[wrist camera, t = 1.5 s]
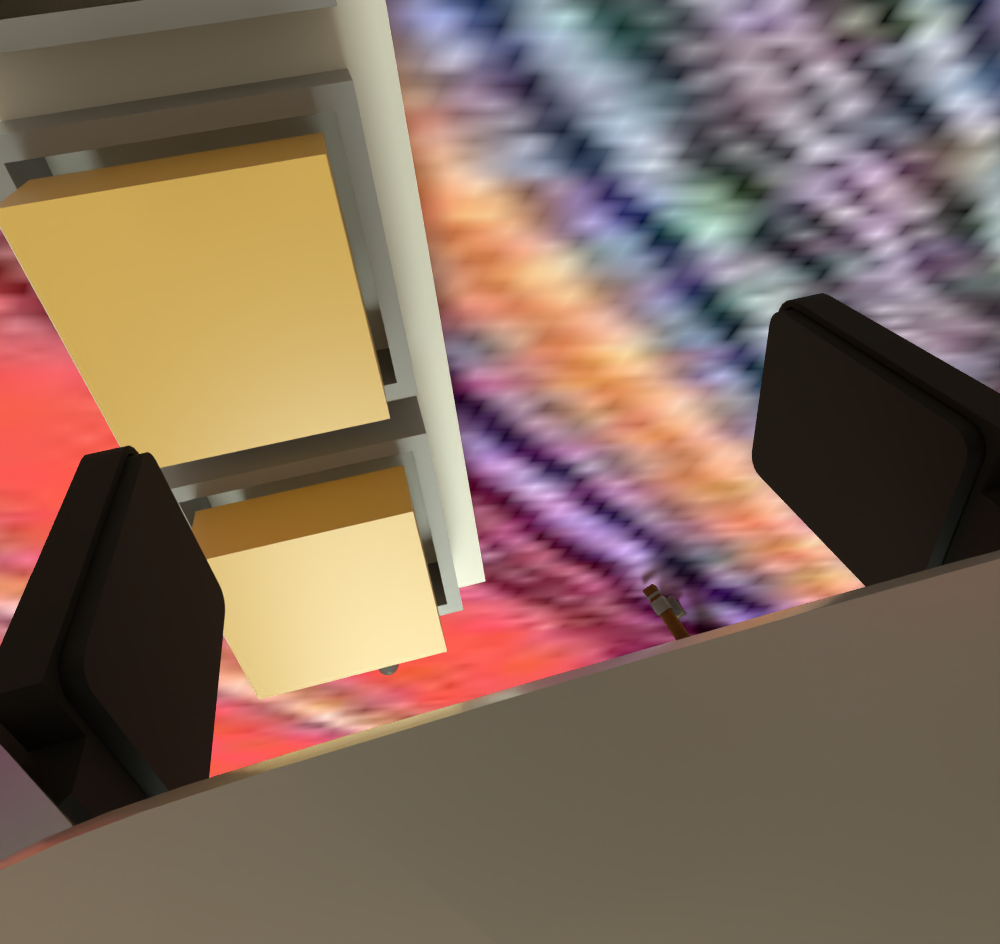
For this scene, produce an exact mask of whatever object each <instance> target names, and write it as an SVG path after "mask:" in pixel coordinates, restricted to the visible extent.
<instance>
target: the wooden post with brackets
mask: <svg viewBox="0 0 1000 944" xmlns="http://www.w3.org/2000/svg"><path fill="white" fill-rule="evenodd" d="M643 592H644V594H645V595H646V596H647V599H648V600H650V602H651V603H650V605H651V606H652V608H653V609H654V611H655V612H656V614H657V615H658V616H660V617H661V618H662V620H663V621H664V623H665V624H666V625H667V627H668V628H669V630H670V631H671V633H672V634H673V636H674V637H675V639H676V640H680V639H683V638H687V637H690V635H689V634H688V632H687V631H686V629H685V628H684V627H683V625H682V624H681V622H680V621H679V619H680V618H681V617H683V616H684V615H686V612H685V611H684V609H683V608H682V606H681V605H680V604H679V602H678V601H677V600H675V599H674V597H673V596H672V595H670V596H669V597H667V598H665V597H664V596H662V595H661V592H660V591H659V590H658V588H657V587H656V585H654V584H651V585H650V586H648V587H647V588H645V589H644V590H643Z"/></svg>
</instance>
